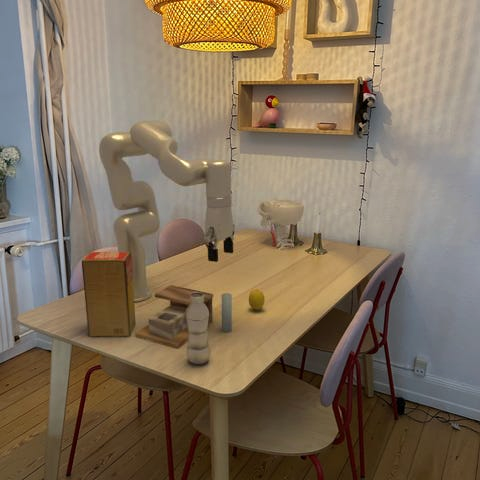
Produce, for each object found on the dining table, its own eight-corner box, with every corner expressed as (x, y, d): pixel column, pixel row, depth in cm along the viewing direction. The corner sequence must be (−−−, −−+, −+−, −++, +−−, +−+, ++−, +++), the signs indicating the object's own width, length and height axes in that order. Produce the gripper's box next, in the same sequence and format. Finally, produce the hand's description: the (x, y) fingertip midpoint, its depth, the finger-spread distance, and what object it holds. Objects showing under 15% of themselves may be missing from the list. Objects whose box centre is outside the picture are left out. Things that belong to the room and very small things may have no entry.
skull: (307, 245, 237) (310, 202, 231) (293, 255, 222) (295, 208, 215) (264, 238, 249) (265, 197, 243) (248, 247, 233) (248, 203, 227)
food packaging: (136, 323, 151) (132, 250, 144) (130, 337, 142) (125, 260, 135) (95, 323, 151) (89, 250, 144) (87, 337, 141) (79, 260, 135)
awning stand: (171, 311, 159) (170, 285, 157) (213, 322, 152) (213, 294, 149) (134, 336, 142) (132, 306, 140) (179, 348, 135) (178, 317, 132)
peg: (219, 331, 146) (219, 296, 143) (224, 327, 149) (224, 292, 145) (228, 333, 145) (228, 298, 141) (233, 329, 147) (233, 294, 144)
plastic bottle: (198, 370, 124) (196, 301, 119) (181, 361, 129) (179, 294, 123) (215, 360, 129) (214, 294, 123) (198, 352, 133) (197, 288, 128)
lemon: (254, 305, 165) (255, 284, 163) (267, 309, 162) (267, 288, 159) (245, 310, 161) (245, 289, 159) (257, 315, 157) (258, 293, 155)
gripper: (222, 197, 147) (223, 248, 151) (193, 206, 132) (195, 263, 136) (243, 198, 144) (244, 250, 148) (215, 208, 129) (217, 266, 133)
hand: (221, 256), depth 142 cm, fingers open, 9 cm apart
